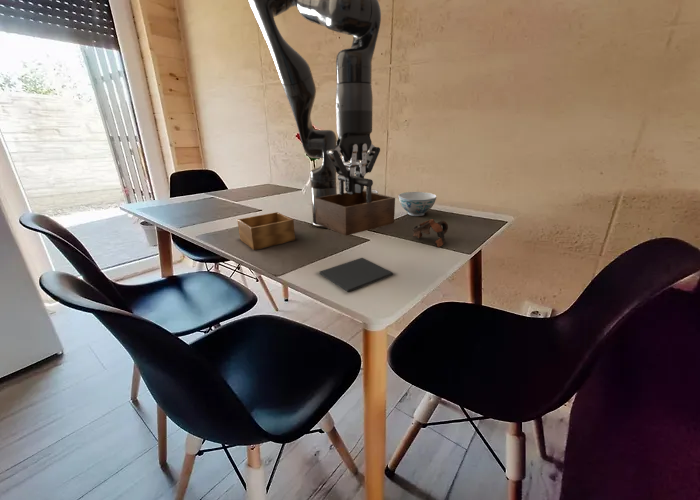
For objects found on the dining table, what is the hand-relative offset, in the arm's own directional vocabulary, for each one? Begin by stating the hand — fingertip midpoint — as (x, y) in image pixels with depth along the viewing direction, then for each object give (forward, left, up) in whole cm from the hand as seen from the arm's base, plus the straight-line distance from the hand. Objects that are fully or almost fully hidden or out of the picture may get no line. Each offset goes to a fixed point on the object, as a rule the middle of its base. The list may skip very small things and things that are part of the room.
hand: (354, 193), depth 70 cm
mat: (0, 0, -21) cm, 21 cm away
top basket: (0, 0, -7) cm, 7 cm away
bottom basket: (+7, -38, -21) cm, 44 cm away
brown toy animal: (-33, -3, -21) cm, 39 cm away
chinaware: (-54, -28, -21) cm, 64 cm away
